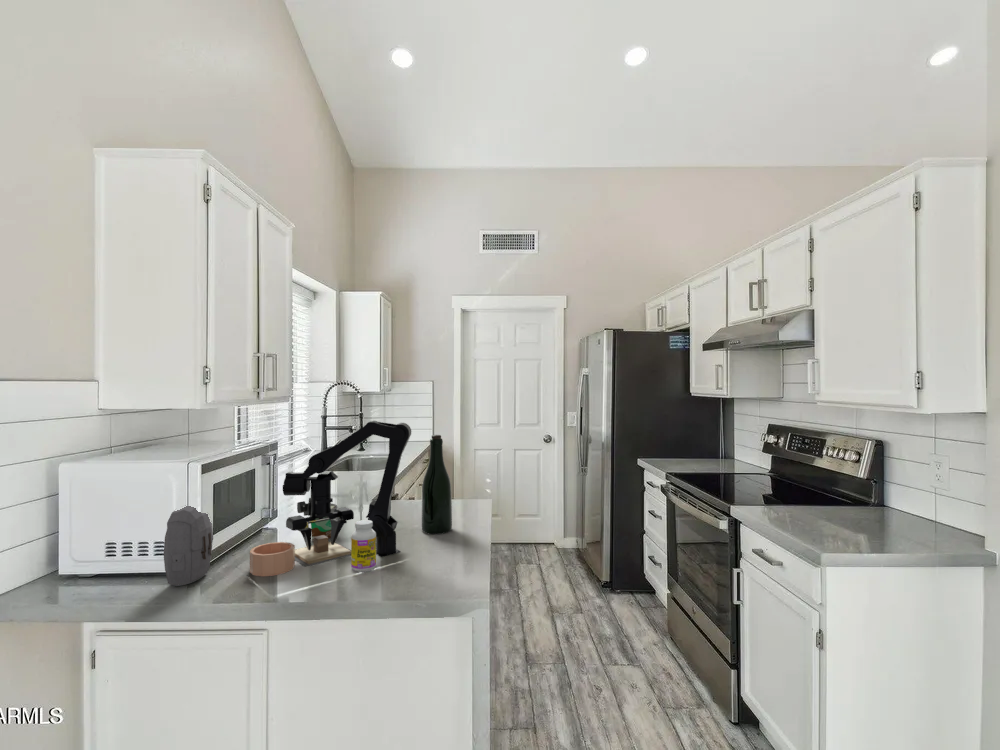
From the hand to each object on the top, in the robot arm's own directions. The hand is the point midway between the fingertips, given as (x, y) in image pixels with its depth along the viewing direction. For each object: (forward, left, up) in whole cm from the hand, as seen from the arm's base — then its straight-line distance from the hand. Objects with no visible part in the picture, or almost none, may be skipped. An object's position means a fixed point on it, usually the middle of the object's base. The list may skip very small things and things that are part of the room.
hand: (321, 547), depth 157 cm
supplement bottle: (-19, -4, -3) cm, 20 cm away
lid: (0, 0, -2) cm, 2 cm away
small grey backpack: (+4, +33, -3) cm, 33 cm away
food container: (+15, -9, -3) cm, 18 cm away
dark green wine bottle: (-3, -40, -2) cm, 40 cm away
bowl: (-3, +15, -2) cm, 15 cm away
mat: (0, 0, -2) cm, 2 cm away
